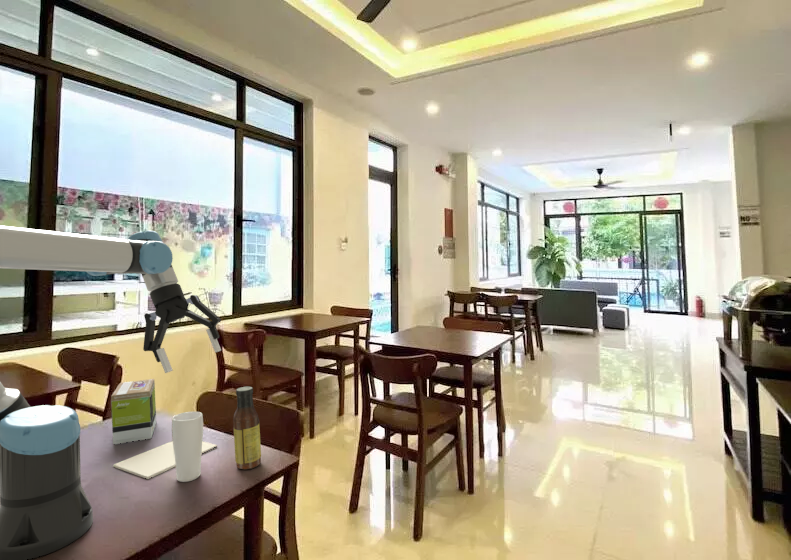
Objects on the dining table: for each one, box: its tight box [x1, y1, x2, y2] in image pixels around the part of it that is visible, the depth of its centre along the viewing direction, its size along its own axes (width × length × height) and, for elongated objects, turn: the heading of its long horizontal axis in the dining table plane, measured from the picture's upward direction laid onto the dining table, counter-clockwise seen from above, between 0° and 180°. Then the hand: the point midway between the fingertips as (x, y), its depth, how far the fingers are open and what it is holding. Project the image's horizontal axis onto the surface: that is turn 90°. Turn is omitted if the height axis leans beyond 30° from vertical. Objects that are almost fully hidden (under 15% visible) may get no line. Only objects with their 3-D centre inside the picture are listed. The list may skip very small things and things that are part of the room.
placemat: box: [112, 440, 218, 480], centre depth 113 cm, size 20×14×1 cm
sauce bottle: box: [232, 386, 262, 471], centre depth 107 cm, size 7×6×20 cm
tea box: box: [110, 378, 157, 445], centre depth 129 cm, size 15×10×15 cm, turn 25°
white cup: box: [171, 411, 204, 483], centre depth 101 cm, size 7×7×15 cm
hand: (193, 361), depth 111 cm, fingers open, 13 cm apart
